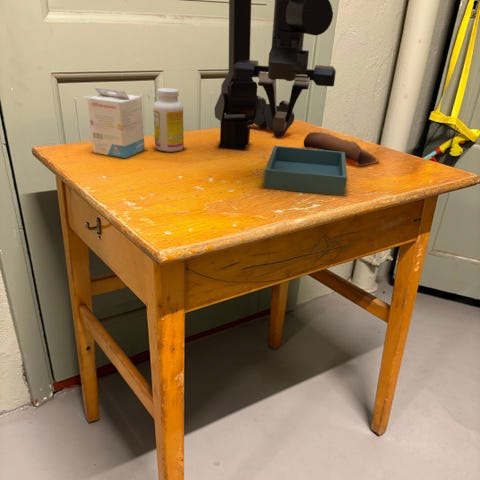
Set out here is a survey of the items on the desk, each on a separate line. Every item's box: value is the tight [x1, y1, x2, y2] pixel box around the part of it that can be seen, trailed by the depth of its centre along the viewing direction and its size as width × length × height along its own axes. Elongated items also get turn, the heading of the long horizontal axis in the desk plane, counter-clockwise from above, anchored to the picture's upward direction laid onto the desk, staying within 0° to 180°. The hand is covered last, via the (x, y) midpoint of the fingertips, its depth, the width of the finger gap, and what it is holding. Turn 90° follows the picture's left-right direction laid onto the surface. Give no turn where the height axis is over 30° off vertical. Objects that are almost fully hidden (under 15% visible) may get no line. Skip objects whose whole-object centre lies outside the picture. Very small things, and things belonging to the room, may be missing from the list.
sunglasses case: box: [303, 131, 379, 167], centre depth 124 cm, size 18×7×7 cm
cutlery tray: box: [263, 145, 348, 197], centre depth 108 cm, size 16×19×4 cm
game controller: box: [248, 95, 295, 139], centre depth 140 cm, size 16×7×10 cm, turn 52°
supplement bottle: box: [152, 87, 185, 153], centre depth 119 cm, size 7×7×13 cm
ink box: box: [87, 87, 146, 159], centre depth 114 cm, size 9×8×13 cm
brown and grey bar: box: [273, 111, 287, 131], centre depth 103 cm, size 12×2×2 cm, turn 171°
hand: (280, 121), depth 102 cm, fingers closed on brown and grey bar, 2 cm apart
